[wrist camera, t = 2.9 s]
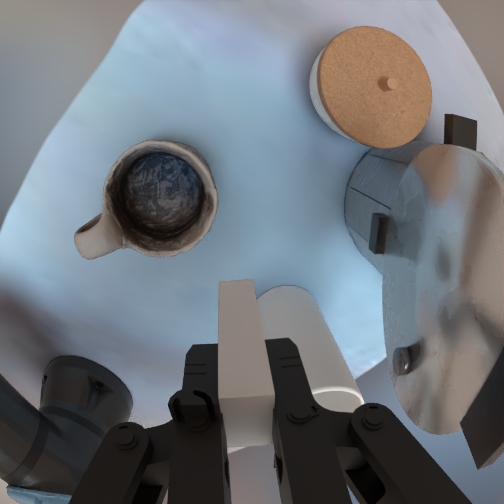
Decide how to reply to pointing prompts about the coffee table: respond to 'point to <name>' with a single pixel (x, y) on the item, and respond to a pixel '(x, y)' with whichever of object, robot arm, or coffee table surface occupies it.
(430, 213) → the lid
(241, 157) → the coffee table surface
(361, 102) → the lidded jar
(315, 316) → the cup
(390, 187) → the pot
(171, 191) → the mug
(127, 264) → the coffee table surface
